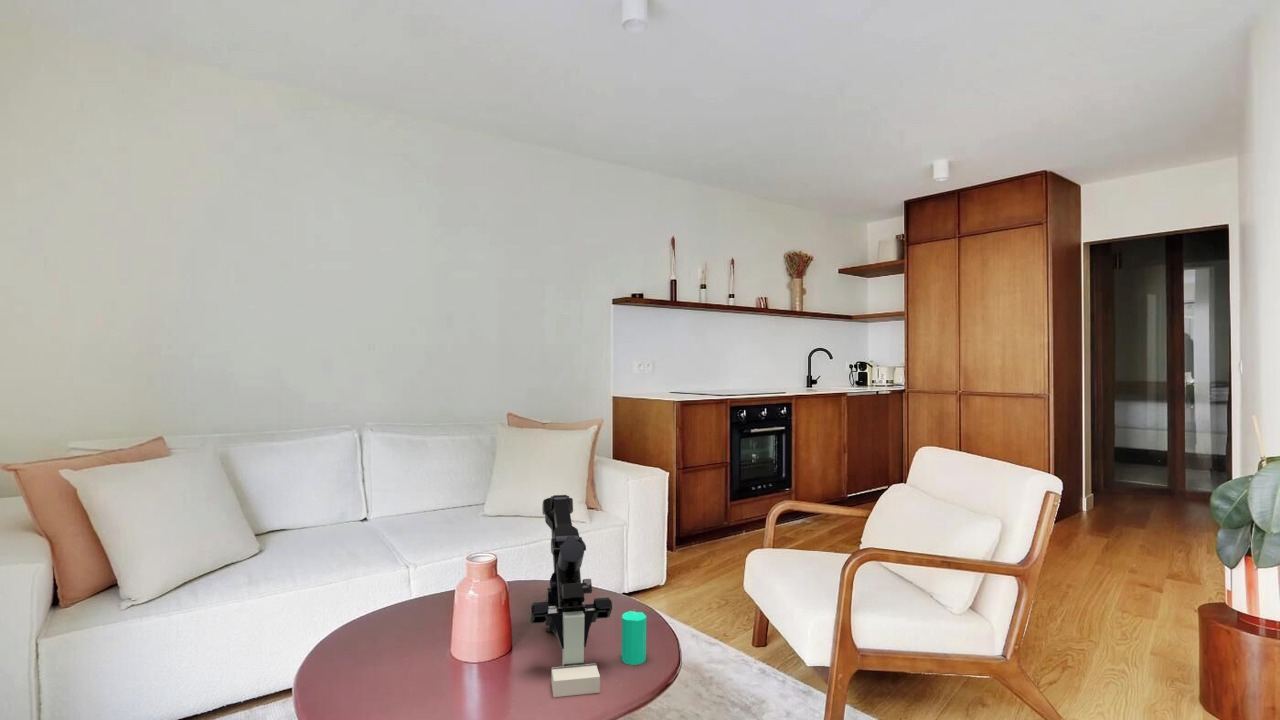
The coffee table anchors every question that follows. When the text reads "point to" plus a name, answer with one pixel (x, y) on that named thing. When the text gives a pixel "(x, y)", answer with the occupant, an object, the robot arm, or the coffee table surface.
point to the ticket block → (575, 680)
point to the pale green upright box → (573, 638)
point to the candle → (633, 637)
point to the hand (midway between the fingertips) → (573, 647)
